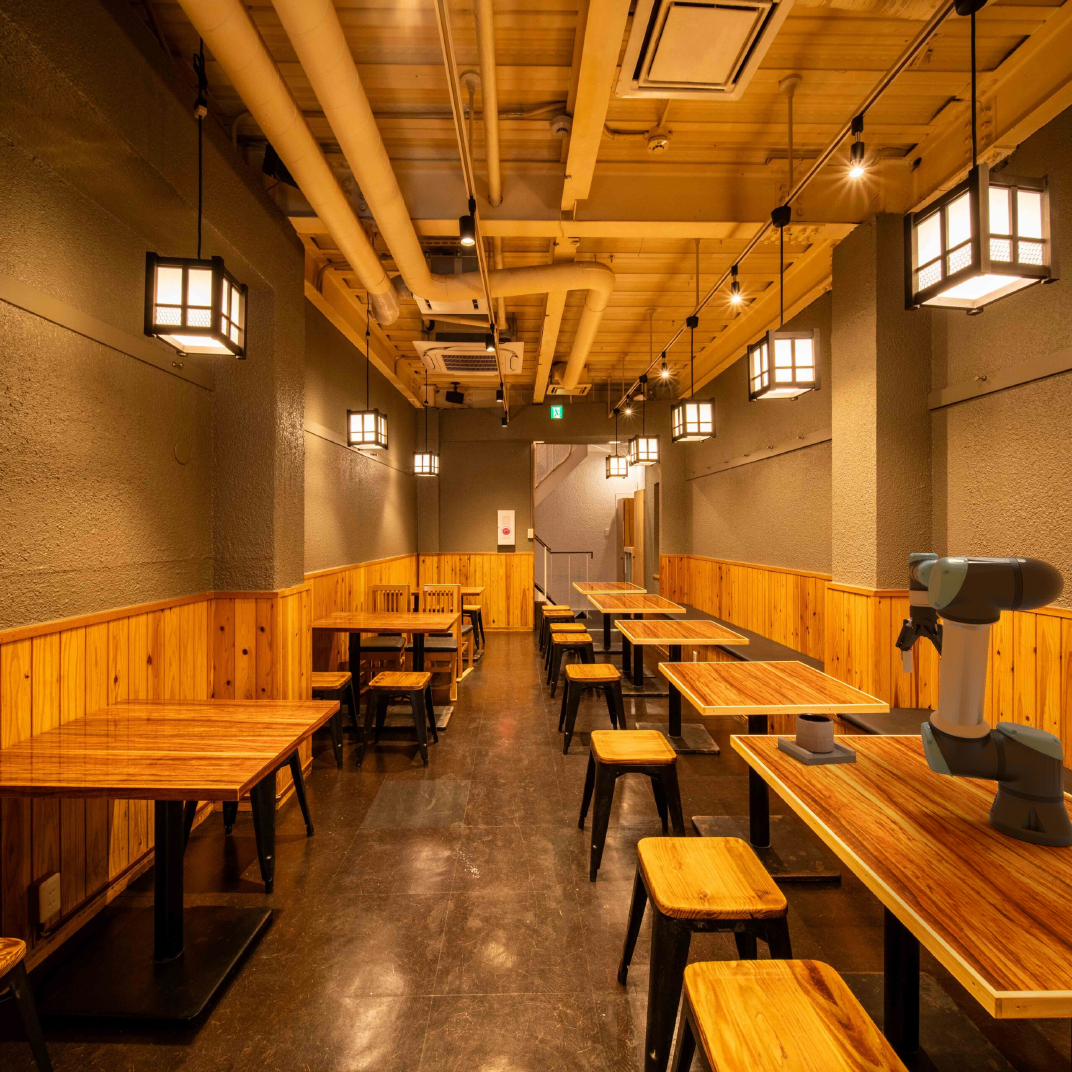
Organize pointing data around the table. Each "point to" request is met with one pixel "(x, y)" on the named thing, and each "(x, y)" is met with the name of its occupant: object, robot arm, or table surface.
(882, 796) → the table surface
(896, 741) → the table surface
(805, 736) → the planter
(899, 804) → the table surface
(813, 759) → the grey square tray
